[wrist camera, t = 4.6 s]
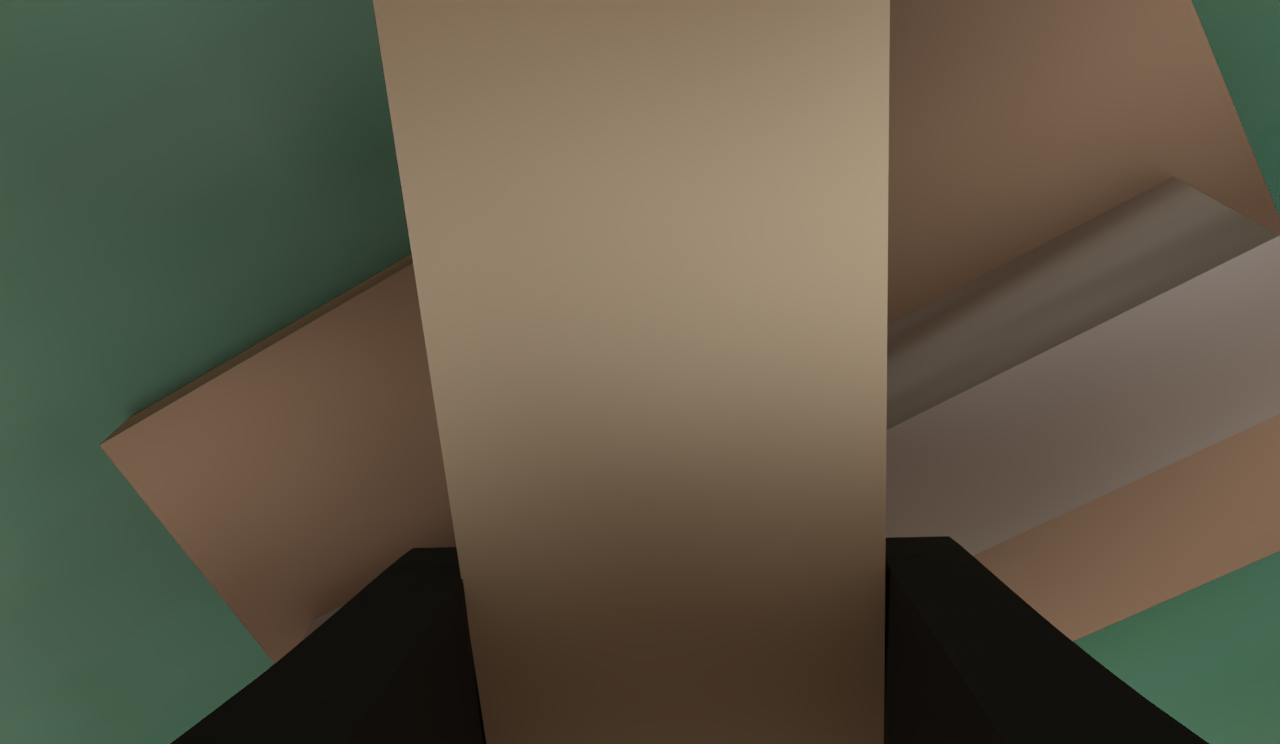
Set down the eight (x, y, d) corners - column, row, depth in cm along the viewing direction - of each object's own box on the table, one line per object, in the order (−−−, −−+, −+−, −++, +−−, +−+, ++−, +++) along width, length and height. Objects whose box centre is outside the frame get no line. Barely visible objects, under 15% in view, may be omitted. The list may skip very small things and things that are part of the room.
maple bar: (823, 1051, 17) (878, 1478, 13) (618, 1058, 18) (598, 1481, 13) (790, -679, 10) (899, -1173, 5) (425, -642, 10) (207, -1087, 5)
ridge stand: (128, 418, 19) (-11, 545, 15) (1102, -149, 15) (1237, -167, 12) (478, 862, 22) (435, 1062, 18) (1358, 470, 18) (1531, 615, 14)
